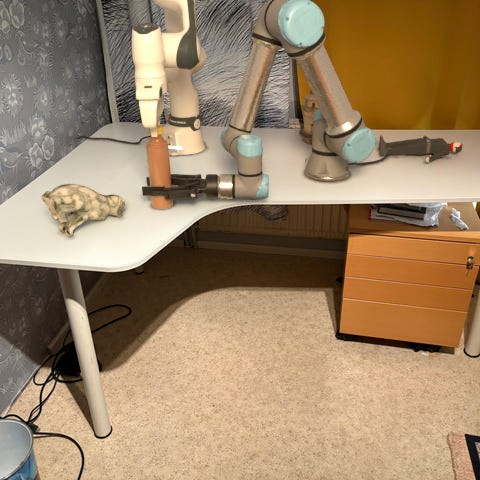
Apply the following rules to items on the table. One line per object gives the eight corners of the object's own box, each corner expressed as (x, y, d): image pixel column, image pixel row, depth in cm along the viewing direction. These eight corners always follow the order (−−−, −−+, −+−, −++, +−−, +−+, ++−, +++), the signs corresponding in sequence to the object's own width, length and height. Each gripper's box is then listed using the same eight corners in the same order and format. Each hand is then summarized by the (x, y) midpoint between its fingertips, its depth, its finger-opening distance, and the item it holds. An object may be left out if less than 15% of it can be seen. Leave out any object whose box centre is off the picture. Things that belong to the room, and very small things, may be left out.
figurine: (85, 253, 150) (138, 211, 159) (47, 199, 141) (105, 158, 150) (72, 248, 157) (123, 208, 166) (34, 197, 148) (90, 157, 157)
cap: (152, 136, 155) (151, 129, 154) (146, 132, 158) (146, 125, 157) (165, 133, 157) (164, 127, 156) (159, 129, 160) (159, 123, 159)
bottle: (167, 198, 173) (160, 123, 161) (176, 205, 168) (170, 129, 156) (148, 203, 170) (140, 127, 158) (157, 211, 165) (150, 133, 153)
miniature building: (320, 132, 228) (325, 59, 214) (338, 142, 217) (344, 66, 203) (293, 137, 224) (296, 63, 209) (310, 147, 213) (314, 69, 198)
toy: (379, 128, 216) (458, 128, 210) (378, 143, 219) (456, 144, 213) (380, 150, 194) (469, 151, 187) (379, 166, 197) (466, 168, 190)
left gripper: (145, 77, 160) (150, 123, 167) (134, 95, 142) (139, 145, 149) (166, 77, 160) (170, 122, 167) (158, 94, 142) (162, 144, 149)
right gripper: (216, 211, 159) (139, 211, 160) (221, 184, 176) (151, 184, 177) (215, 188, 155) (137, 188, 156) (220, 163, 172) (149, 163, 173)
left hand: (155, 133), depth 158 cm, fingers closed on cap, 4 cm apart
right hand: (144, 186), depth 166 cm, fingers closed on bottle, 7 cm apart
